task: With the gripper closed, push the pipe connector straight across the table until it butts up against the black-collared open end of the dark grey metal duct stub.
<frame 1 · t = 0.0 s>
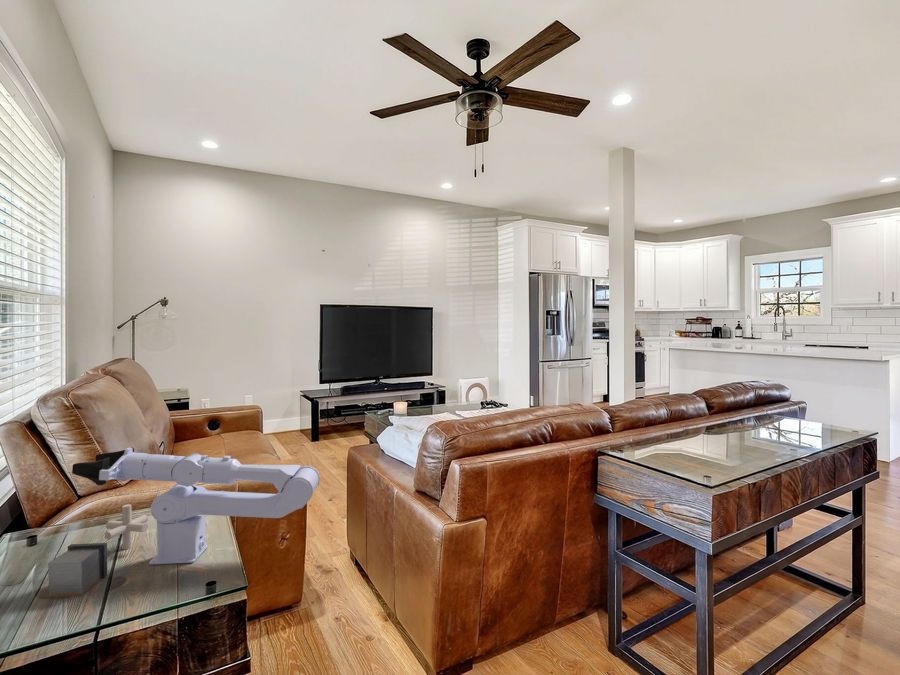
hand: (85, 463, 106), 22 cm above the table, tool horizontal, fingers open, 7 cm apart
duct stub: (77, 586, 95), on the table
pipe connector: (127, 548, 112), on the table
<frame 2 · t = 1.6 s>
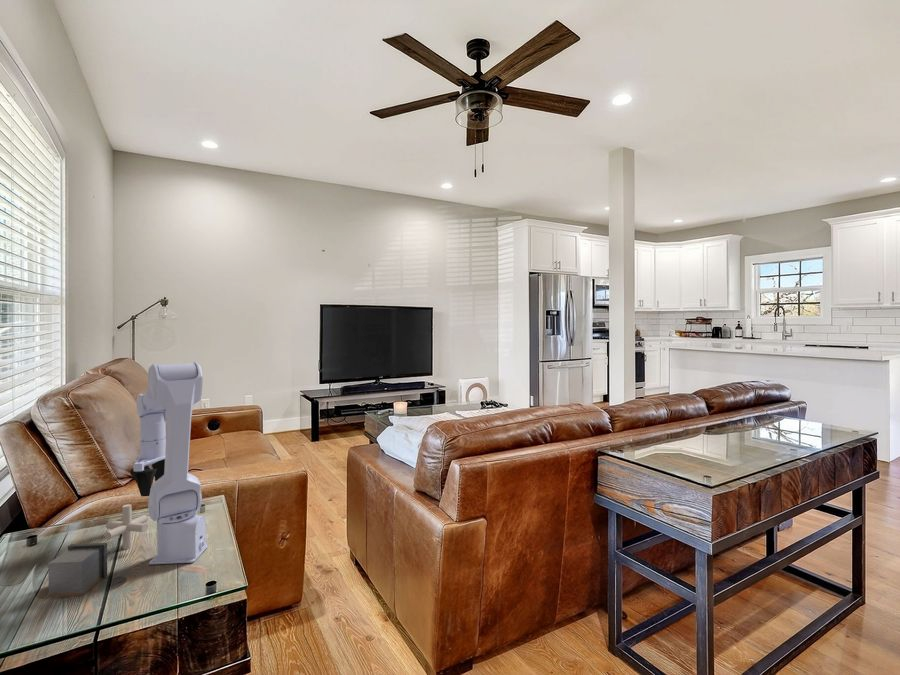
hand: (153, 490, 124), 9 cm above the table, tool pointing down, fingers open, 7 cm apart
nothing on the table moved.
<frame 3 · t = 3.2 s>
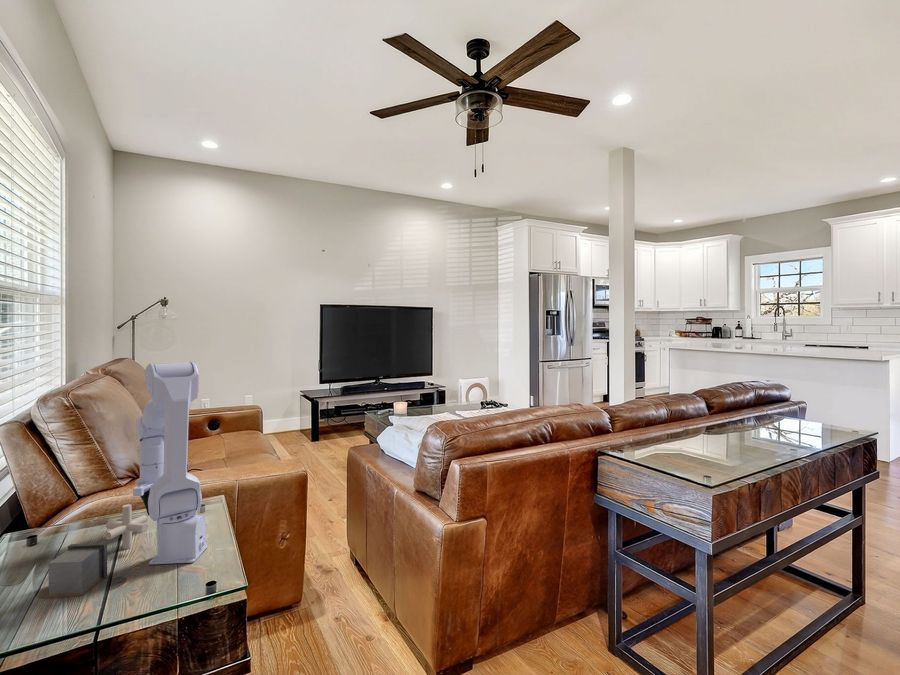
hand: (153, 514, 124), 3 cm above the table, tool pointing down, fingers closed
nothing on the table moved.
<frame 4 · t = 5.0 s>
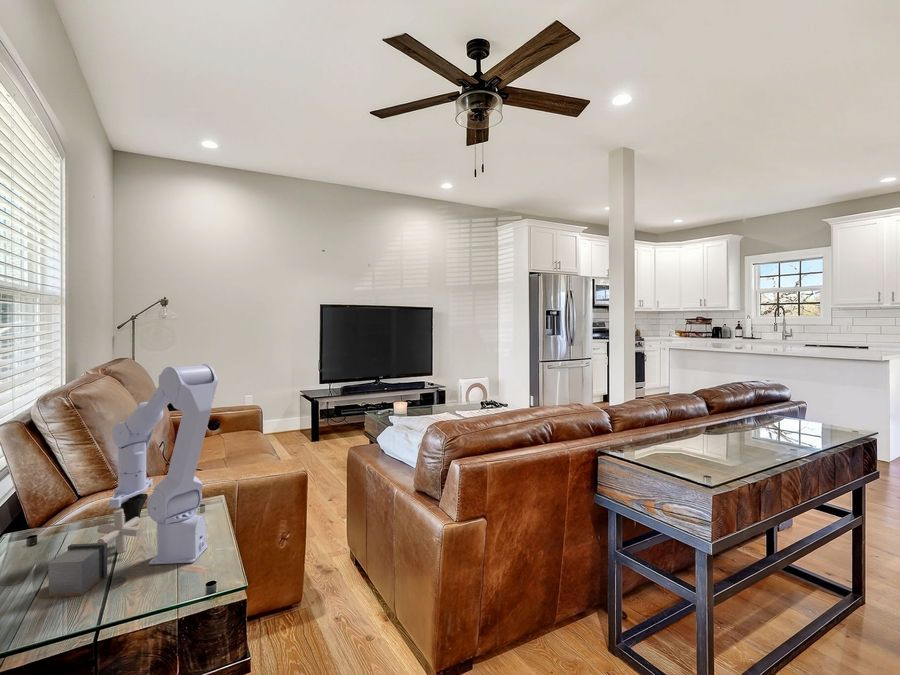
hand: (132, 525, 115), 4 cm above the table, tool pointing down, fingers closed, pressing on pipe connector
pipe connector: (121, 551, 110), on the table, touching gripper
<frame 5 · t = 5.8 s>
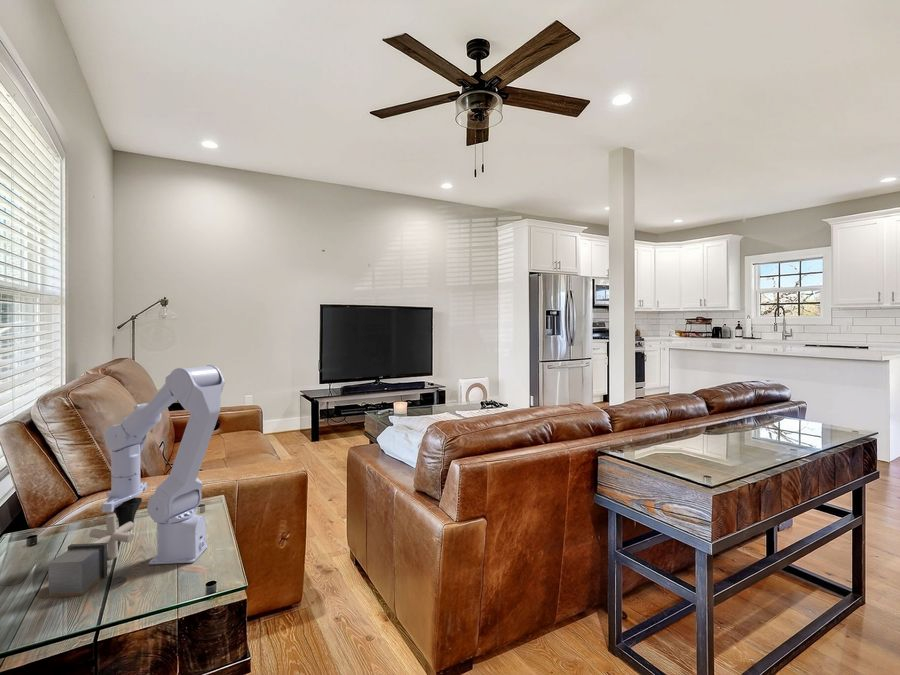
hand: (126, 530, 112), 4 cm above the table, tool pointing down, fingers closed, pressing on pipe connector
pipe connector: (113, 557, 108), on the table, touching gripper
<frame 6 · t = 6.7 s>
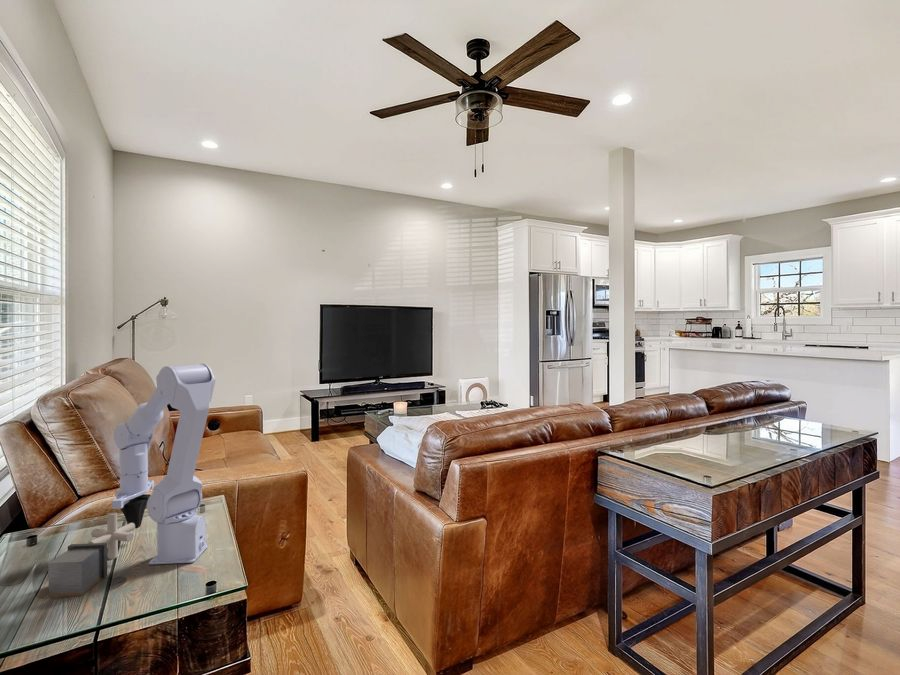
hand: (134, 527, 115), 3 cm above the table, tool pointing down, fingers closed
pipe connector: (113, 558, 107), on the table
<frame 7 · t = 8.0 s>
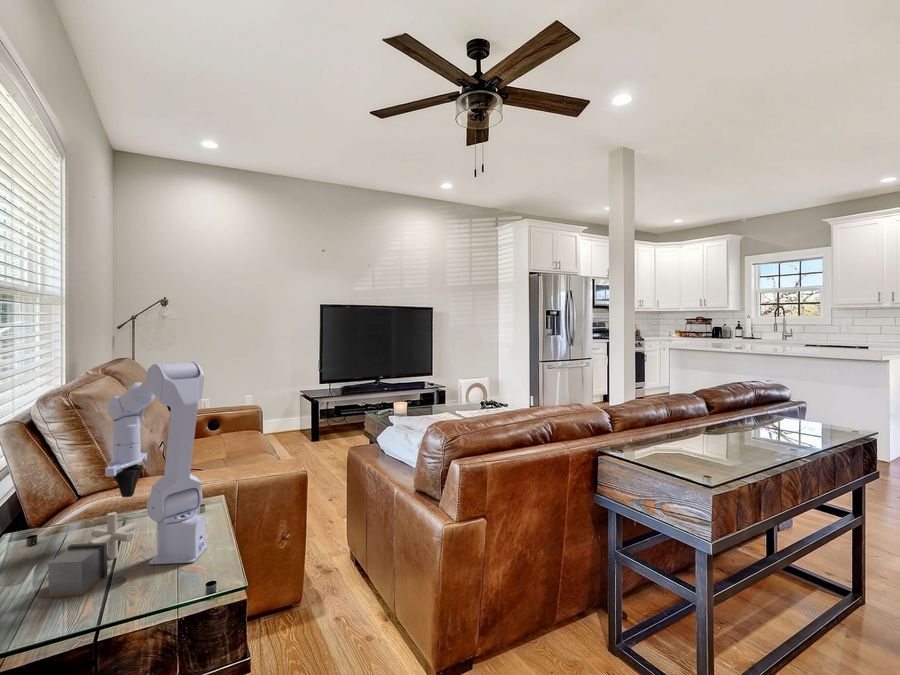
hand: (127, 496, 120), 9 cm above the table, tool pointing down, fingers closed
nothing on the table moved.
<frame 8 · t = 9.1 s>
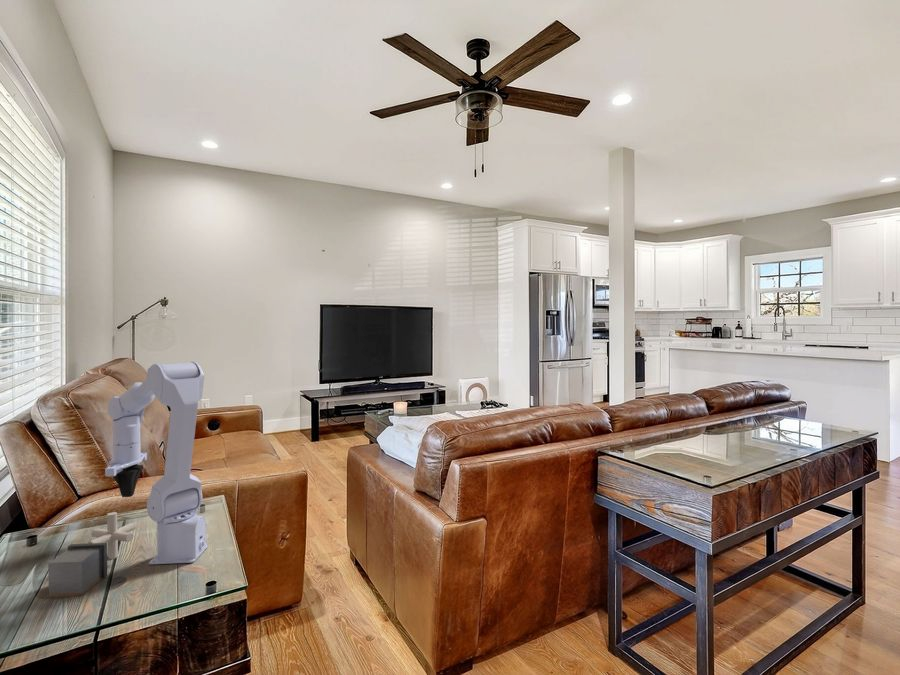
hand: (127, 496, 120), 9 cm above the table, tool pointing down, fingers closed
nothing on the table moved.
at the end: pipe connector 2.8 cm from the target spot, on the table; pipe connector moved 4.8 cm from its start; pipe connector tilted 1° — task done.
